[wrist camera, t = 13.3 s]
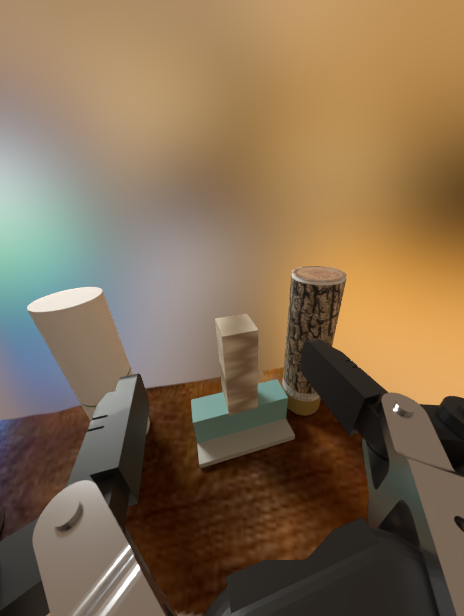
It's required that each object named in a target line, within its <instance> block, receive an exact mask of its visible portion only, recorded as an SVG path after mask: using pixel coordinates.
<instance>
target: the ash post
mask: <svg viewBox="0 0 464 616" xmlns="http://www.w3.org/2000/svg"><path fill="white" fill-rule="evenodd" d="M215 322H216V331H217V341H218V350H219V360H220V370H221V380H222V390H223V395H224V399H225V402H226V406H227V410H228V414H229V415H232V414H236V413H240V412H243V411H247V410H251V409H255V408H258V329H257V328H256V326H255V325H254V323H253V322H252V321H251V319H250V318H249V316H248V315H247V314H241V315H235V316H229V317H223V318H217V319H215Z"/></svg>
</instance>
